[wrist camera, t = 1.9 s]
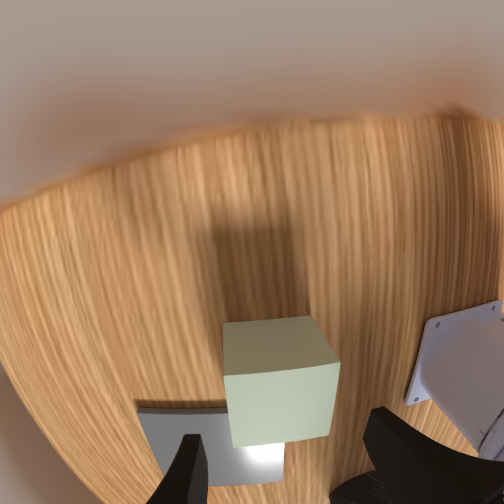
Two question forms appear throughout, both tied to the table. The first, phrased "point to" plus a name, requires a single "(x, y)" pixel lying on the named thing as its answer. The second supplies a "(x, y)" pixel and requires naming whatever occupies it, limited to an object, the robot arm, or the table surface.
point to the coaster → (211, 445)
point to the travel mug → (362, 491)
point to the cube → (278, 380)
